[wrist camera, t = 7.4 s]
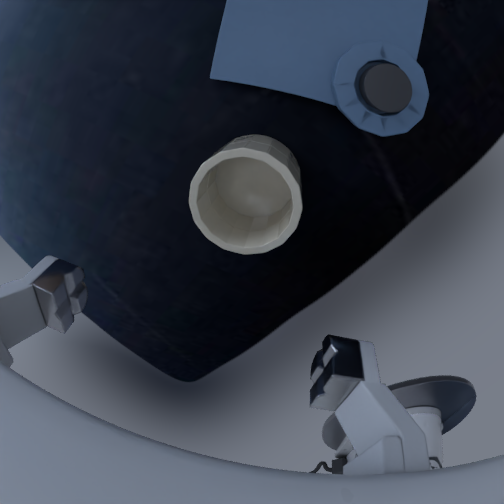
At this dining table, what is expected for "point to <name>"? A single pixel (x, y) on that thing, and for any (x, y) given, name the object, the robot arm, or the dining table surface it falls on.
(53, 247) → the dining table surface
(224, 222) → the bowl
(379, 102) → the button
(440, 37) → the dining table surface
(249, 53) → the scale
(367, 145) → the dining table surface
